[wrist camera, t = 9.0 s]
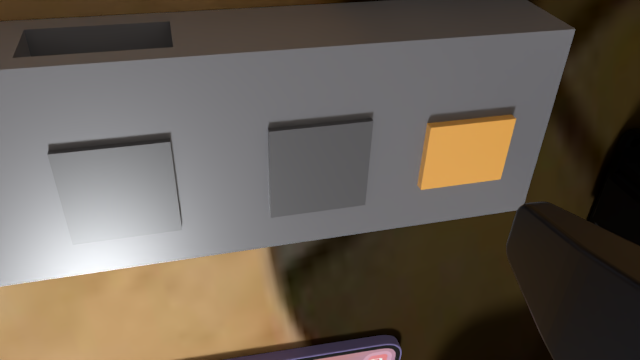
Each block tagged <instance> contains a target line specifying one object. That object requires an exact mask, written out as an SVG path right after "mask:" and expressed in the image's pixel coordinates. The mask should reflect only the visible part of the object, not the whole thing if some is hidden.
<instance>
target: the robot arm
mask: <svg viewBox="0 0 640 360" xmlns="http://www.w3.org/2000/svg"><path fill="white" fill-rule="evenodd" d="M506 253H507V258H508V261H509V263H510V266H511V268H512V270H513V272H514V275H515V277H516V279H517V282H518V284H519V286H520V289H521V291H522V293H523V296H524V298H525V300H526V302H527V305H528V307H529V309H530V312H531V314H532V316H533V319H534V321H535V323H536V326H537V328H538V330H539V332H540V334H541V336H542V339H543V341H544V343H545V345H546V347H547V349H548V350H549V352H550V354H551V356H552V358H553V360H640V129H632V130H629V131H627V132H626V133H625V134H624V135H623V136H622V137H621V139H620V141H619V143H618V146H617V148H616V151H615V154H614V156H613V159H612V162H611V164H610V167H609V169H608V172H607V175H606V177H605V180H604V182H603V185H602V188H601V190H600V193H599V196H598V198H597V201H596V203H595V206H594V209H593V211H592V214H591V216H590V219H589V221H587V220H585V219H583V218H581V217H578V216H576V215H574V214H572V213H570V212H568V211H566V210H564V209H562V208H560V207H557V206H555V205H553V204H551V203H549V202H534V203H525V204H523V205H521V206H520V207H519V208H518V209H517V212H516V215H515V218H514V221H513V225H512V228H511V231H510V234H509V237H508V241H507V245H506Z"/></svg>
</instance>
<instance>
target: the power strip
mask: <svg viewBox="0 0 640 360" xmlns="http://www.w3.org/2000/svg"><path fill="white" fill-rule="evenodd" d="M574 32H575V29H574V28H573V27H571V26H569V25H568V24H566V23H564V22H563V21H561V20H559V19H558V18H556V17H554V16H553V15H551V14H549V13H548V12H546V11H544V10H543V9H541V8H539V7H538V6H536V5H534V4H533V3H531V2H529V1H528V0H389V1H370V2H351V3H332V4H314V5H295V6H276V7H258V8H239V9H220V10H202V11H183V12H164V13H145V14H127V15H108V16H89V17H71V18H52V19H33V20H15V21H0V287H1V286H7V285H14V284H21V283H28V282H35V281H41V280H48V279H55V278H62V277H68V276H75V275H82V274H89V273H95V272H102V271H109V270H116V269H122V268H129V267H136V266H143V265H150V264H156V263H163V262H170V261H177V260H183V259H190V258H197V257H204V256H210V255H217V254H224V253H231V252H237V251H244V250H251V249H258V248H265V247H271V246H278V245H285V244H292V243H298V242H305V241H312V240H319V239H325V238H332V237H339V236H346V235H352V234H359V233H366V232H373V231H380V230H386V229H393V228H400V227H407V226H413V225H420V224H427V223H434V222H440V221H447V220H454V219H461V218H467V217H474V216H481V215H488V214H495V213H501V212H508V211H515V210H517V209H518V208H519V207H520V206H521V205H523V204H524V202H525V199H526V196H527V192H528V189H529V185H530V182H531V179H532V175H533V172H534V168H535V165H536V162H537V158H538V155H539V151H540V148H541V145H542V141H543V138H544V134H545V131H546V128H547V124H548V121H549V117H550V114H551V111H552V107H553V104H554V100H555V97H556V94H557V90H558V87H559V83H560V80H561V77H562V73H563V70H564V66H565V63H566V60H567V56H568V53H569V49H570V46H571V43H572V39H573V36H574Z"/></svg>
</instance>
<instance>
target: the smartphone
mask: <svg viewBox="0 0 640 360" xmlns="http://www.w3.org/2000/svg"><path fill="white" fill-rule="evenodd" d="M401 354H402V350H401V347H400V345H399V343H398V341H397V339H396V338H395V337H393V336H390V335H379V336H372V337H366V338H359V339H353V340H346V341H340V342H334V343H327V344H321V345H314V346H308V347H301V348H295V349H289V350H282V351H276V352H269V353H263V354H256V355H250V356H243V357H237V358H231V359H224V360H400V358H401Z"/></svg>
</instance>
